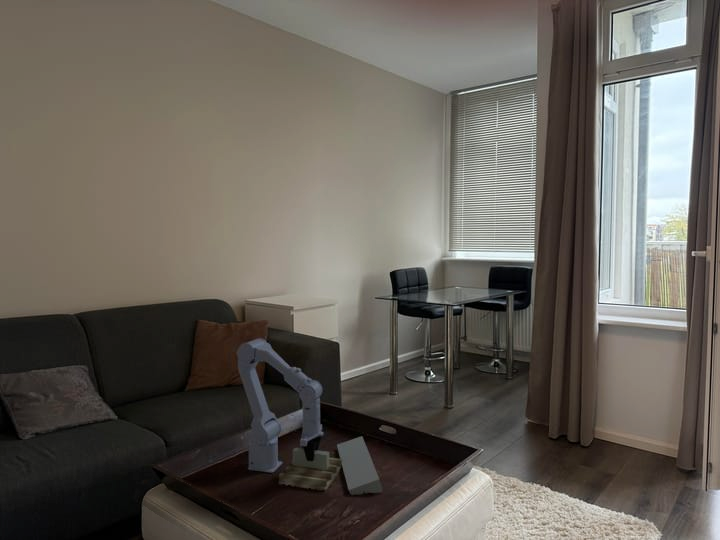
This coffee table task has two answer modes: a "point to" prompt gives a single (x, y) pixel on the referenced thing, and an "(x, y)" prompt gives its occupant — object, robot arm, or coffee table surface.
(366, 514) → the coffee table surface
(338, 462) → the ribbed tan slab
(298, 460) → the clay strip
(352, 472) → the grey rectangular block
